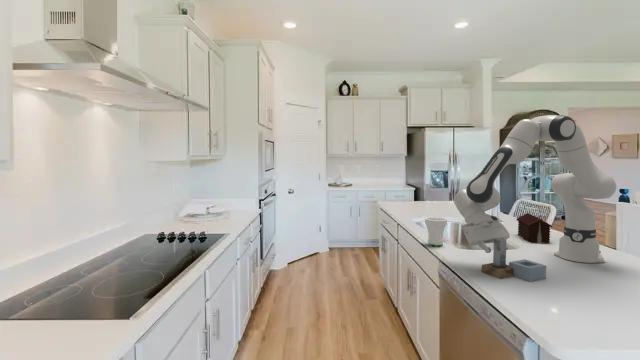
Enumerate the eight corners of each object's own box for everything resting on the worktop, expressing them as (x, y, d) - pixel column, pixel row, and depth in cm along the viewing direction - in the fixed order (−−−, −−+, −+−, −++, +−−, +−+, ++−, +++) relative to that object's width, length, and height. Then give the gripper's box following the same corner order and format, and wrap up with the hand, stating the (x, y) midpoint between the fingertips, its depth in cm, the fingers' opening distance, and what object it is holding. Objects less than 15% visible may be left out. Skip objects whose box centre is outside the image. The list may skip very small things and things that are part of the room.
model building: (551, 244, 190) (552, 216, 190) (527, 243, 193) (528, 215, 192) (537, 235, 211) (538, 210, 210) (516, 234, 213) (516, 209, 212)
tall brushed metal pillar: (492, 273, 144) (493, 238, 143) (498, 271, 145) (499, 238, 145) (499, 275, 141) (500, 240, 140) (505, 274, 143) (506, 239, 142)
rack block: (508, 274, 142) (509, 262, 142) (524, 271, 146) (524, 259, 146) (529, 281, 134) (530, 268, 134) (545, 278, 138) (546, 265, 137)
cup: (420, 243, 193) (420, 217, 192) (437, 241, 197) (437, 216, 196) (433, 248, 182) (433, 221, 181) (451, 246, 186) (451, 219, 185)
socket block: (481, 271, 146) (481, 264, 146) (497, 268, 149) (497, 261, 149) (500, 278, 137) (500, 271, 137) (517, 275, 141) (517, 268, 141)
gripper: (464, 220, 146) (483, 249, 137) (500, 216, 154) (520, 244, 145) (456, 229, 150) (473, 258, 142) (491, 225, 158) (510, 252, 150)
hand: (497, 251), depth 144 cm, fingers open, 8 cm apart
